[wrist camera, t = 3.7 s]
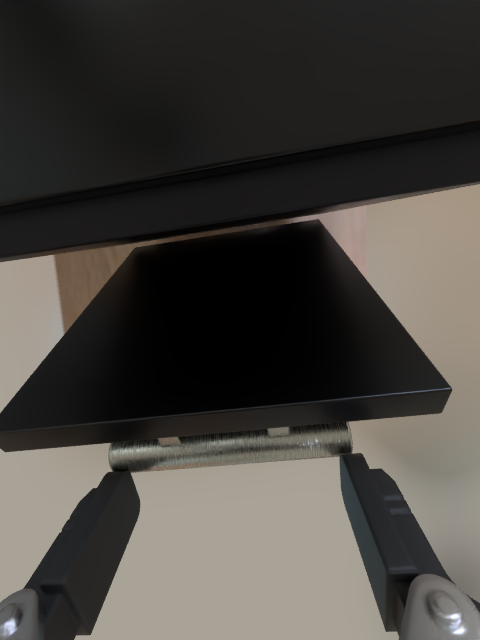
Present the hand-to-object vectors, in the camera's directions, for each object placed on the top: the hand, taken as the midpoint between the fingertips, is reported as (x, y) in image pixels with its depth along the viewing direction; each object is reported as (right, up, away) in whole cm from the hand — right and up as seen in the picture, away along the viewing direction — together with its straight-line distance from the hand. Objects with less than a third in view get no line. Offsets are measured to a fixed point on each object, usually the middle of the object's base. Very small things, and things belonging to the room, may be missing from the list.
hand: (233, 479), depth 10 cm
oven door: (0, +10, +9) cm, 14 cm away
